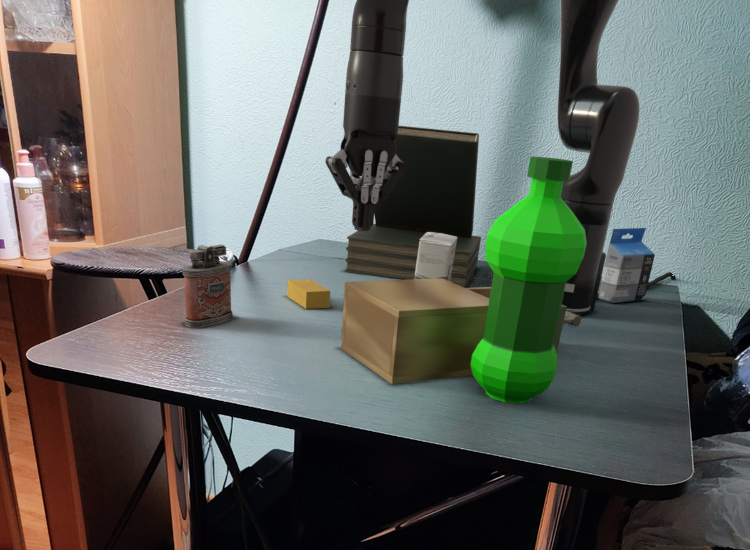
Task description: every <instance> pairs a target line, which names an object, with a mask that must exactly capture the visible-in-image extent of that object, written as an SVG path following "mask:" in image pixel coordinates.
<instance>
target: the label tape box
mask: <svg viewBox="0 0 750 550" xmlns="http://www.w3.org/2000/svg"><path fill="white" fill-rule="evenodd" d="M646 230H647V227H630V228H628V227H627V228H624V227H623V228H613V229H612V231H611V235H610V240H609V243H608V248H607V253H606V259H605V263H604V267H603V272H602V276H601V281H600V286H599V291H598V294H599V297H598V299H597V300H601V301H604V302H607V303H611V304H616V303H625V302H635V301H641V300H642V301H643V300H645V298H646V295H647V290H648V288H647V286H648V283H649V282H650V278H651V273H652V270H653V265H654V261H655V256H656V254H655V253H654V252H653V251H652V250H651V249H650V248H649V247H648V246H647V245H645V244H644V242H643V239H644V236H645V232H646ZM627 235H629V236H631V237H630V238H629V237H628V238H623V236H627Z"/></svg>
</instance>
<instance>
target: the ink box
mask: <svg viewBox="0 0 750 550" xmlns="http://www.w3.org/2000/svg"><path fill="white" fill-rule="evenodd" d="M456 243H457V237H456V236H451V235H447V234H442V233H434V232H427V233H426V234H425V235H423V236H422V237H421V238H420V242H419V249H418V256H417V263H416V270H415V278H414V279H436V278H443V279H445V280H447V281H451V275H452V268H453V262H454V256H455V249H456Z"/></svg>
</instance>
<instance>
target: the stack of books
mask: <svg viewBox="0 0 750 550" xmlns="http://www.w3.org/2000/svg"><path fill="white" fill-rule="evenodd" d="M479 141H480V133H478V132H470V131H469V132H468V131H457V130H448V129H447V130H446V129H437V128H429V127H417V126H407V125H399V126H398V133H397V134H396V136H395V145H396V149H397V150H396V155H397V156H398V157H399V159H400V160H401V161H402V162H406V163H407V164H408V168H407V170H406V172H405V173H404V175H403V176H402V178H401V179H400V180H399V182H398V183H397V185H396V186H395V188H394V189H393V191H392V192H391V193H390V195H389V196H388V198H387V199H381V200H379V201H377V203H376V204H375V212H374V223H373V226H372V227H371V229H370V231H358V230H356V231H355V232H353V233H352V234H350V235H348V236H347V237H346V239H347V241H348V242H347V243H348V244H347V247H346V248H345V249H346V251H347V257H346V258H345V262H346V269H345V270H344V272H345V273H351V274H358V275H359V274H360V275H367V276H368V275H369V276H374V277H382V278H389V279H395V280H410V279H414V278H415V270H416V263H417V256H418V249H419V242H420V238H421V237H422V236H423V235H425V234H426V233H427V232H434V233H442V234H447V235H451V236H456V237H457V243H456V249H455V256H454V262H453V268H452V275H451V281H450V282H452V283H454V284H457V285H459V286H461V287H464V288H467V286H468V285H469V283H470V281H471V279H472V277H473V275H474V274H475V272H476V270H477V268H478V261H479V254H480V247H481V240H482V236H480V235H473V232H474V220H475V218H474V217H475V207H476V188H477V174H478V173H477V171H478V158H479V143H480V142H479ZM386 170H387V169H386ZM386 170H385V172H386ZM385 172H384V173H385ZM372 178H374V177H372Z"/></svg>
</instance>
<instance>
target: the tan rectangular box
mask: <svg viewBox="0 0 750 550" xmlns="http://www.w3.org/2000/svg"><path fill="white" fill-rule="evenodd" d="M466 288H467V287H466ZM466 288H464V287H461V286H459V285H457V284H454V283H452V282H450V281H447V280H445V279H443V278H436V279H410V280H404V279H385V280H363V281H360V280H359V281H345V282H344V292H343V308H342V309H343V310H342V324H341V325H342V326H341V340H340V341H341V343H340V344H341V345H340V349H341V350H342V351H344V352H345V353H346V354H348V355H349V356H351V357H352V358H354V360H356V361H357V362H360V364H363V365H364V366H365V367H366V368H368V369H369V370H371V371H372V372H373V373H375V374H377V375H378V376H379V377H380V378H382V379H384V380H385V381H387V382H388V383H389V384H391V385H398V384H405V383H407V384H408V383H416V382H425V381H435V380H442V379H443V380H444V379H452V378H461V377H468V376H473V373H472V369H471V359H472V354H473V352H474V351H475V349H476V347H477V345H478V344H479V343H480V341H481V340H482V339H483V336H484V330H485V324H486V317H487V311H488V305H489V298H487V297H485V296H482V295H480V294H478V293H475V292H473V291H471V290H468V289H466Z"/></svg>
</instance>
